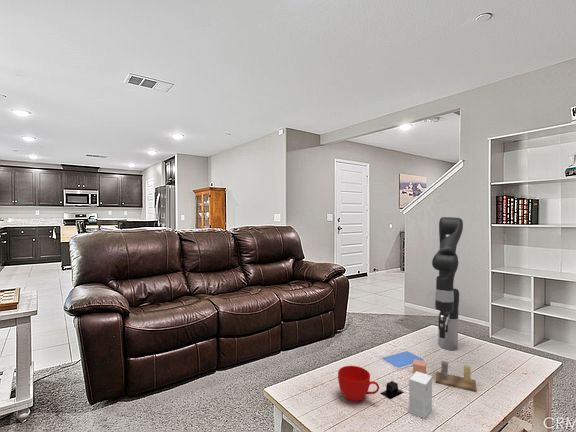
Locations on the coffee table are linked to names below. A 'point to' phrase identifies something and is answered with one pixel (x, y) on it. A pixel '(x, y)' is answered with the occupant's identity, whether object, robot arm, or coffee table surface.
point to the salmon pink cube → (419, 366)
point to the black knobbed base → (391, 390)
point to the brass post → (467, 375)
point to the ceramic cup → (355, 382)
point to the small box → (420, 394)
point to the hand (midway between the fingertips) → (443, 334)
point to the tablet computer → (401, 360)
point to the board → (453, 379)
